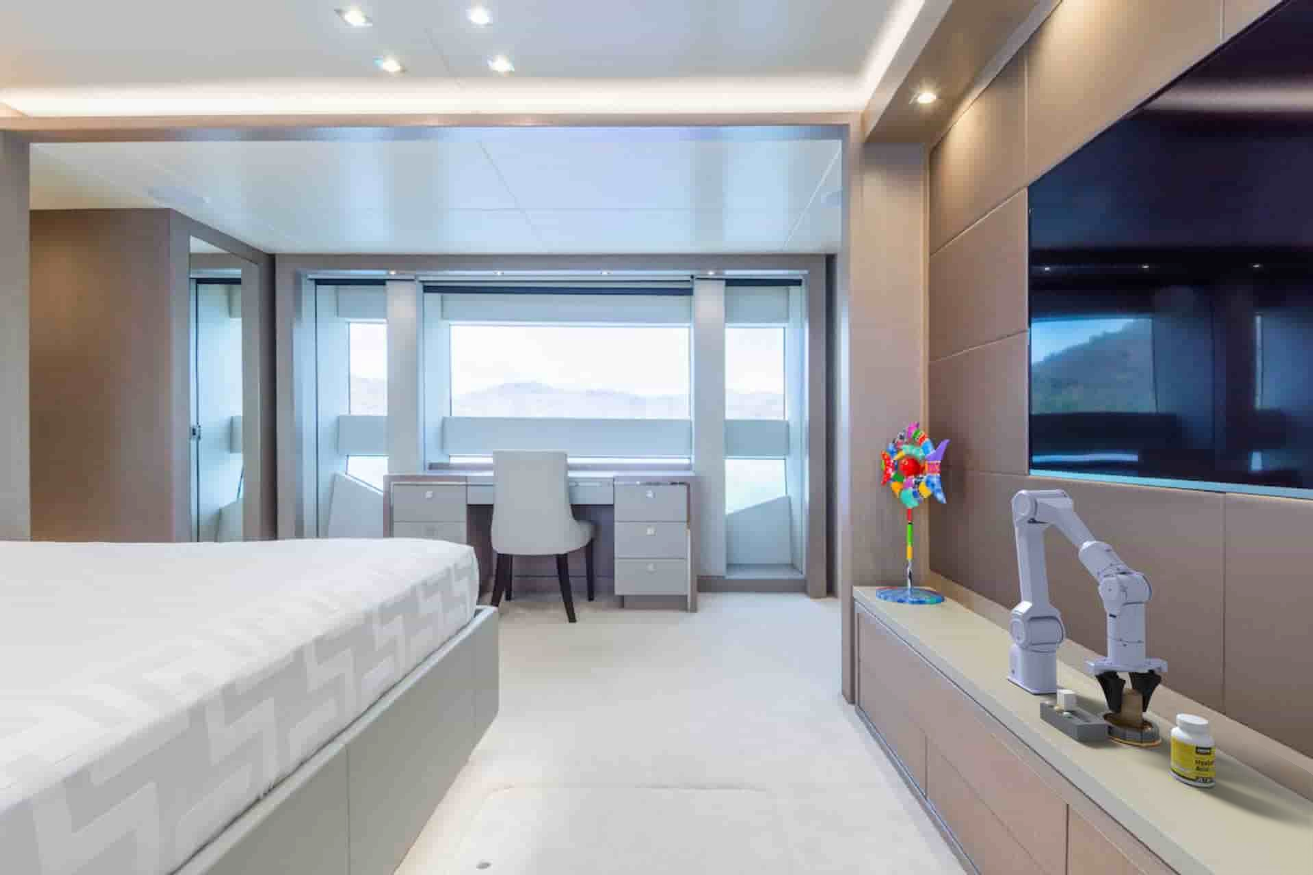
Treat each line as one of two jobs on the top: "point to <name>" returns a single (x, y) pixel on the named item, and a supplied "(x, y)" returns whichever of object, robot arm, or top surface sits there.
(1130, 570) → the robot arm
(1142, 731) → the ring
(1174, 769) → the supplement bottle
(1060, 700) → the handle
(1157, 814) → the top surface
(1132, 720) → the brown tapered cylinder
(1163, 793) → the top surface
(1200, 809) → the top surface
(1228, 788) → the top surface
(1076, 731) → the switch box
